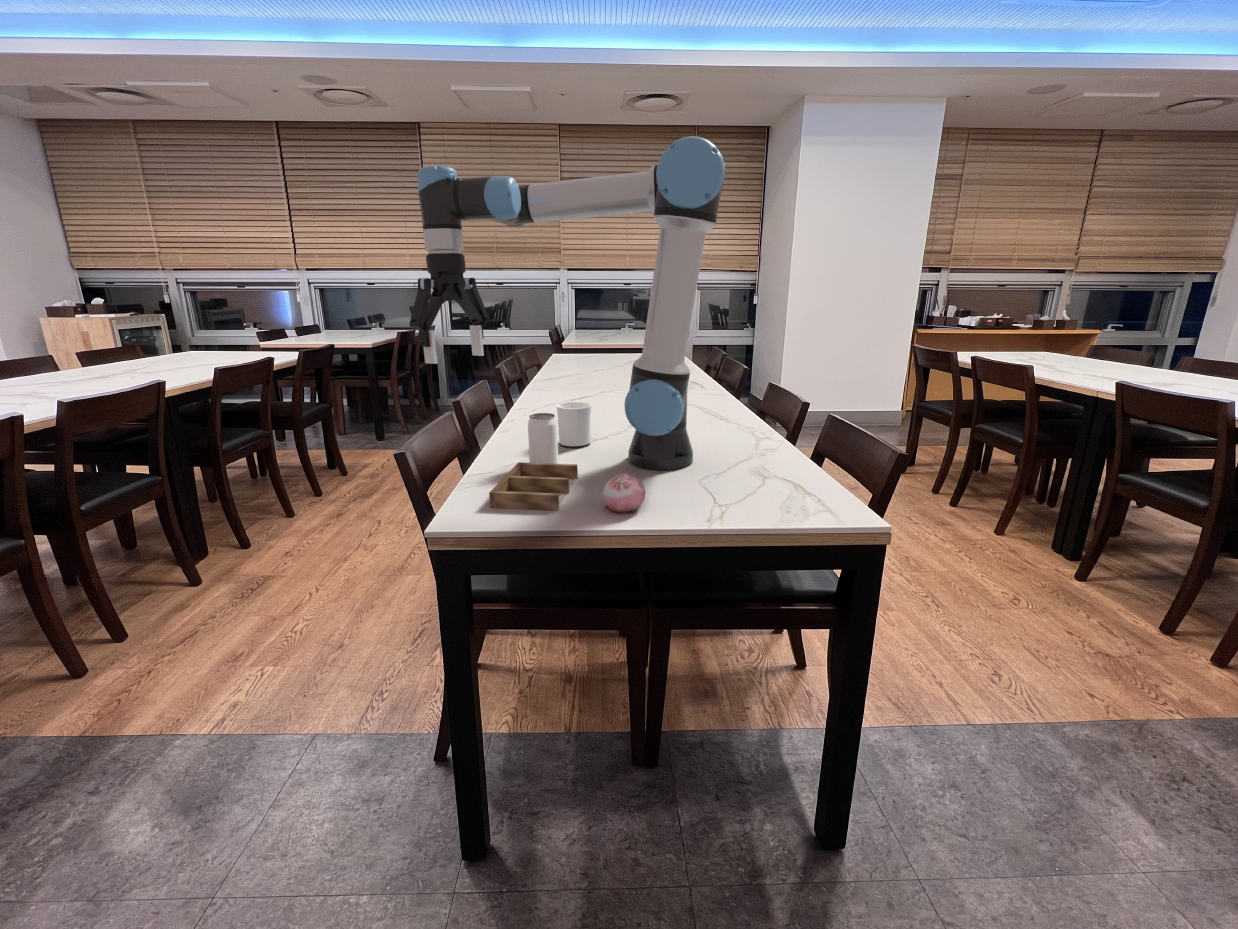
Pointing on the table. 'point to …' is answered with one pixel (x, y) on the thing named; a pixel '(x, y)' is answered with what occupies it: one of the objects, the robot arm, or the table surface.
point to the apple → (624, 493)
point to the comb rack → (534, 486)
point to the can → (543, 438)
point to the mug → (574, 424)
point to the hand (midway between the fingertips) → (455, 359)
